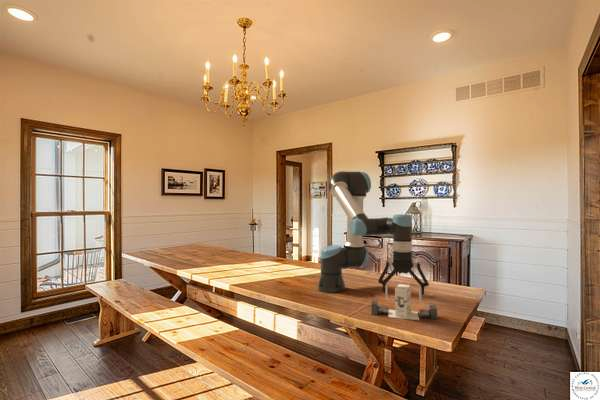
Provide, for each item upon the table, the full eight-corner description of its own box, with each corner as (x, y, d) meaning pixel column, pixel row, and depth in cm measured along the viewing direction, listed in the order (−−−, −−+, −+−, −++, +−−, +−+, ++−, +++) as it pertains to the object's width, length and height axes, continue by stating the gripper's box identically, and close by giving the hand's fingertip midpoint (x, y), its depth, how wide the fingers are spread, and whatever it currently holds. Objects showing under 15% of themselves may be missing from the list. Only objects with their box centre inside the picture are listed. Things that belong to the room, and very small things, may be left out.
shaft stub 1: (371, 314, 135) (371, 304, 135) (372, 310, 140) (372, 300, 140) (387, 315, 133) (387, 305, 133) (387, 311, 138) (387, 301, 138)
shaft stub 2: (420, 318, 130) (420, 307, 130) (419, 314, 134) (419, 303, 134) (437, 320, 128) (437, 309, 128) (435, 315, 133) (435, 305, 133)
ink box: (399, 310, 139) (399, 283, 139) (411, 312, 136) (410, 284, 136) (394, 316, 131) (394, 288, 131) (407, 318, 129) (406, 289, 129)
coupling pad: (388, 317, 131) (388, 316, 131) (388, 310, 140) (388, 309, 140) (419, 320, 128) (419, 319, 128) (417, 312, 136) (417, 311, 136)
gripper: (371, 251, 134) (372, 301, 134) (435, 253, 127) (436, 306, 127) (372, 248, 141) (373, 296, 141) (433, 250, 134) (433, 300, 134)
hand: (403, 301), depth 134 cm, fingers open, 13 cm apart
